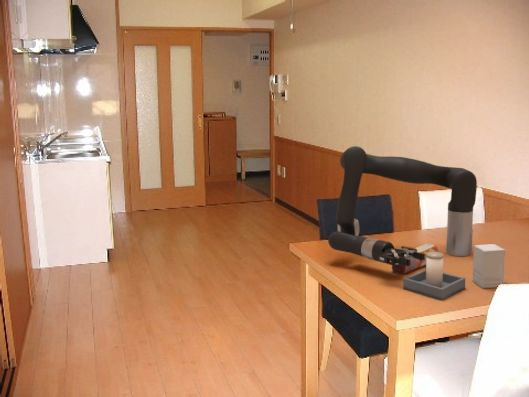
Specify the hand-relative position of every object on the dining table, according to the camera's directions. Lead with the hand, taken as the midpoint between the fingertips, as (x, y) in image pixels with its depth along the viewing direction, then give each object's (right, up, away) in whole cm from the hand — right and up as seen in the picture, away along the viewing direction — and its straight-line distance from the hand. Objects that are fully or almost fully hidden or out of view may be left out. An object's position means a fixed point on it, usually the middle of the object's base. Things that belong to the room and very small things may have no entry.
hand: (417, 260), depth 181 cm
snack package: (+5, -5, +19) cm, 20 cm away
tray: (+5, -9, -3) cm, 11 cm away
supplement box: (+23, -8, 0) cm, 25 cm away
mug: (-15, +1, +48) cm, 50 cm away
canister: (+5, -8, -3) cm, 10 cm away
